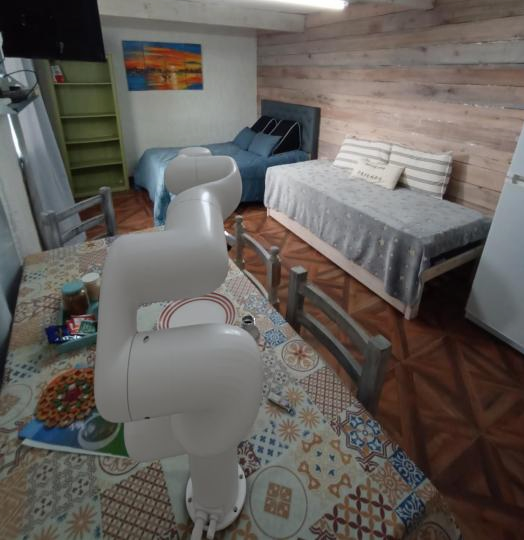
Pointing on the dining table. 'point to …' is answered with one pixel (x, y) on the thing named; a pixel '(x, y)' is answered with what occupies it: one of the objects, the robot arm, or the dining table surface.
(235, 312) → the dinner plate
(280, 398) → the granola bar
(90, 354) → the dining table surface
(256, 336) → the plastic bottle
